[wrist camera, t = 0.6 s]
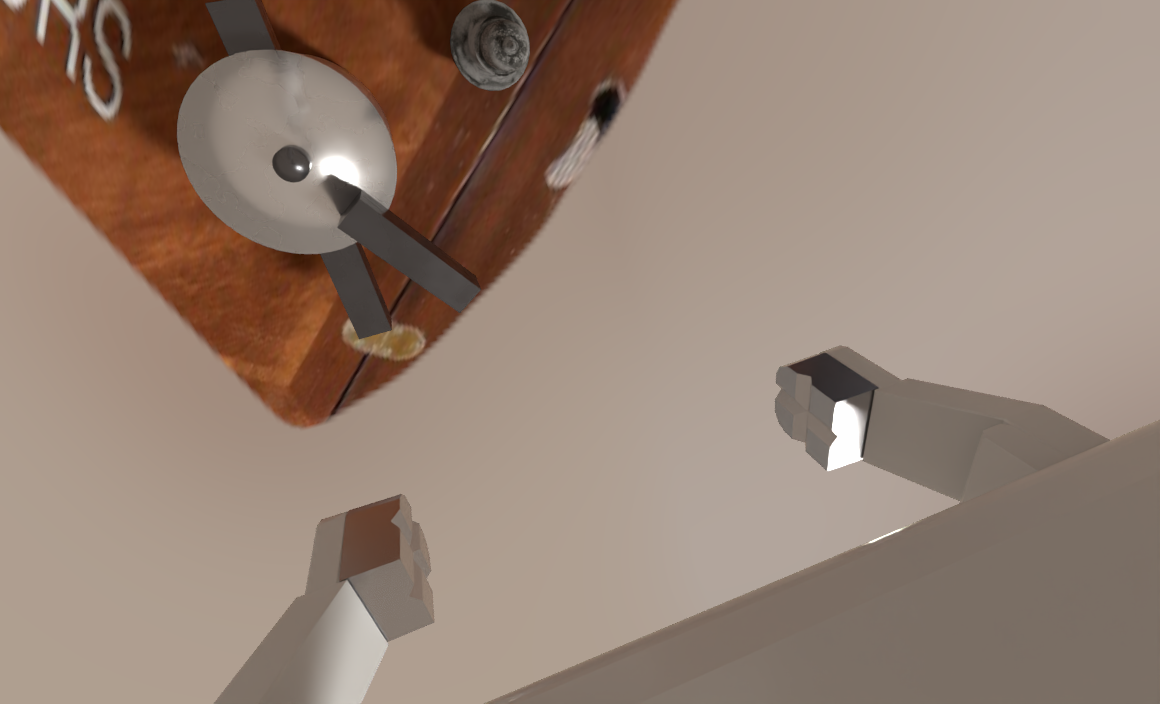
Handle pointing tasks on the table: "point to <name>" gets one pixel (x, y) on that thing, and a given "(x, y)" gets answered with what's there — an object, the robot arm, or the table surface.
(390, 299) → the table surface
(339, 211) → the lid
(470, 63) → the grey round vessel
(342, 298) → the pot
